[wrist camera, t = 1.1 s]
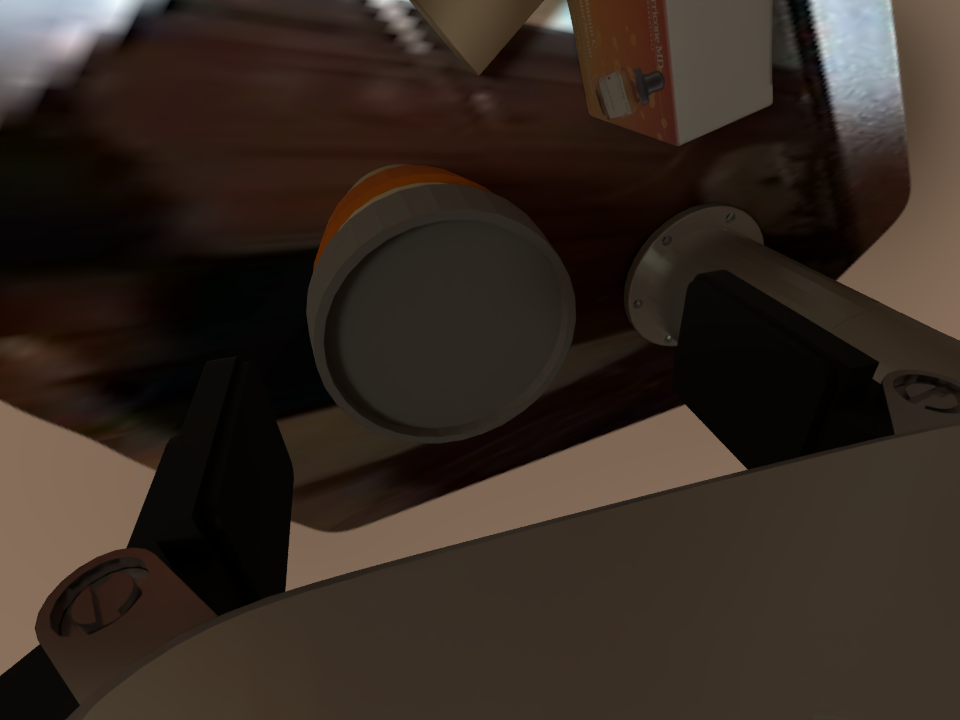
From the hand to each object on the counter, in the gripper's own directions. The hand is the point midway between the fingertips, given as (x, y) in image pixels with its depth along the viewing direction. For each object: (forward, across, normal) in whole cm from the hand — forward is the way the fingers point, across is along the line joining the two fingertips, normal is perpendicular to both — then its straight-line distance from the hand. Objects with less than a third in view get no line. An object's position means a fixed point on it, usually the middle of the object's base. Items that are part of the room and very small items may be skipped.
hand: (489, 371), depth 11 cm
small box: (+26, -15, -5) cm, 31 cm away
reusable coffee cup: (+26, 0, +6) cm, 27 cm away
